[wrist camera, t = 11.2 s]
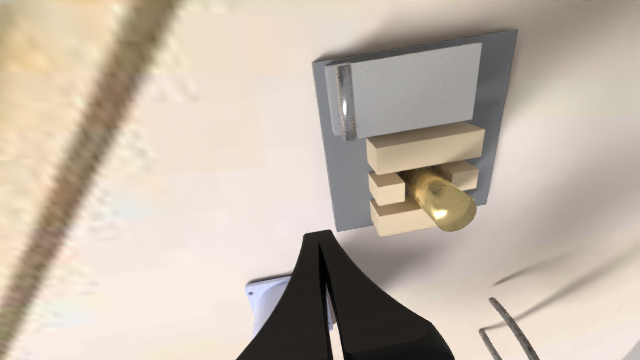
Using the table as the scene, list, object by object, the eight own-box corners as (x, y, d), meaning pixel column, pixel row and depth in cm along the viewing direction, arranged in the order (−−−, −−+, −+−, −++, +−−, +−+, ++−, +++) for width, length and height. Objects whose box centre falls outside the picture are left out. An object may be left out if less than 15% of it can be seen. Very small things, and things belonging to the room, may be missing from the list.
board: (478, 198, 24) (507, 219, 21) (335, 225, 24) (342, 250, 20) (506, 30, 18) (552, 25, 15) (311, 62, 17) (316, 63, 14)
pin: (428, 184, 22) (474, 227, 16) (398, 190, 22) (434, 235, 16) (429, 156, 20) (478, 192, 15) (398, 163, 20) (436, 200, 15)
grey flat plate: (464, 116, 17) (474, 119, 16) (341, 137, 17) (343, 142, 16) (473, 43, 15) (484, 42, 14) (333, 66, 15) (335, 66, 14)
